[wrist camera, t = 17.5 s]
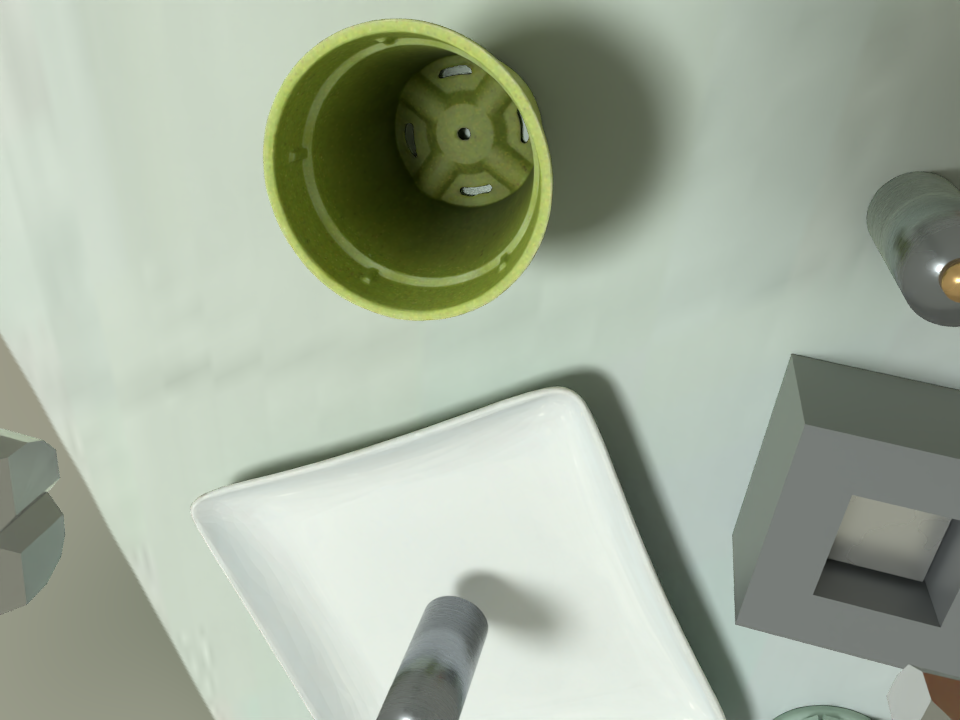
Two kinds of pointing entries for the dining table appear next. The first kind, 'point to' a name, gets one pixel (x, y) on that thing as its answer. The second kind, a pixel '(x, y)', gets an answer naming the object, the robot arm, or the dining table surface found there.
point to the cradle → (823, 502)
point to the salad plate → (462, 569)
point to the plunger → (888, 538)
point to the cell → (438, 663)
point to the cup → (821, 714)
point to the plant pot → (407, 169)
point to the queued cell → (921, 242)
